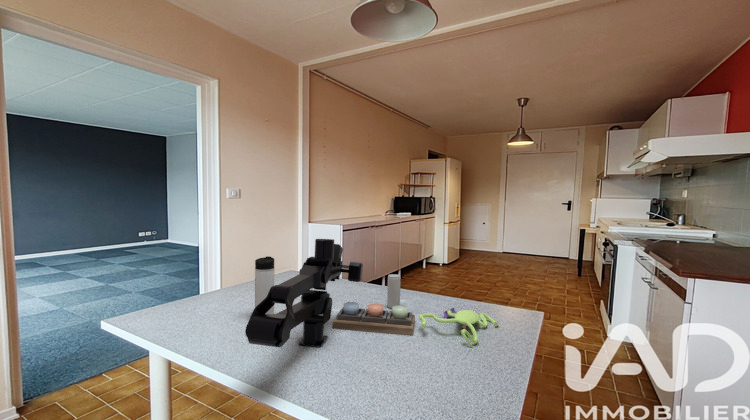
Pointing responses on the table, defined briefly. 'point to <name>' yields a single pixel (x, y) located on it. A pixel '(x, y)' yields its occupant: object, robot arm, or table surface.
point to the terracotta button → (375, 310)
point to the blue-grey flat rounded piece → (351, 308)
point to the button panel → (375, 322)
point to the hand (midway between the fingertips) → (342, 266)
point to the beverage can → (393, 290)
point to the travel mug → (264, 279)
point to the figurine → (462, 321)
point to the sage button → (399, 311)
